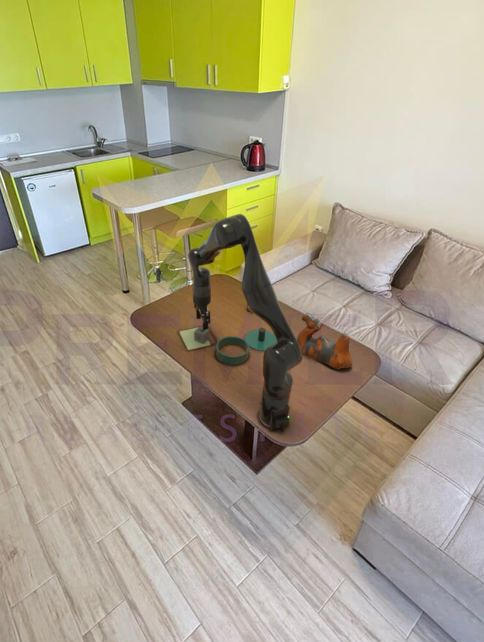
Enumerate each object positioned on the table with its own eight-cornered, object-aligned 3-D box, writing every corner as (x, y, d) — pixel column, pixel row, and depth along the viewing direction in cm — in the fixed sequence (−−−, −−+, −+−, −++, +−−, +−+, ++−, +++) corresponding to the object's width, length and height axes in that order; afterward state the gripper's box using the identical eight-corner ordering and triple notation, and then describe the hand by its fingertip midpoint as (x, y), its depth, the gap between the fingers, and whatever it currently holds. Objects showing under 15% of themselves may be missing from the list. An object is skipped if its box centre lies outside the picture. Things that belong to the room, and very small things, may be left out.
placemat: (218, 343, 165) (218, 343, 164) (188, 350, 160) (188, 349, 160) (207, 326, 176) (207, 325, 175) (179, 332, 171) (179, 331, 171)
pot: (253, 361, 155) (254, 352, 152) (223, 369, 151) (223, 360, 148) (240, 341, 166) (240, 333, 163) (211, 348, 162) (211, 339, 159)
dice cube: (203, 344, 164) (203, 335, 161) (194, 340, 166) (194, 331, 163) (209, 338, 167) (209, 329, 164) (199, 334, 169) (199, 325, 167)
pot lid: (283, 347, 163) (285, 335, 159) (253, 355, 158) (254, 343, 155) (267, 328, 174) (269, 317, 171) (239, 335, 170) (240, 323, 166)
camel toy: (355, 366, 153) (365, 333, 144) (335, 379, 146) (345, 346, 137) (309, 336, 170) (315, 304, 161) (289, 346, 163) (294, 314, 154)
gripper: (188, 285, 157) (189, 316, 166) (198, 302, 146) (199, 334, 155) (204, 282, 160) (204, 313, 168) (216, 299, 148) (215, 331, 157)
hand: (202, 323), depth 162 cm, fingers open, 8 cm apart
